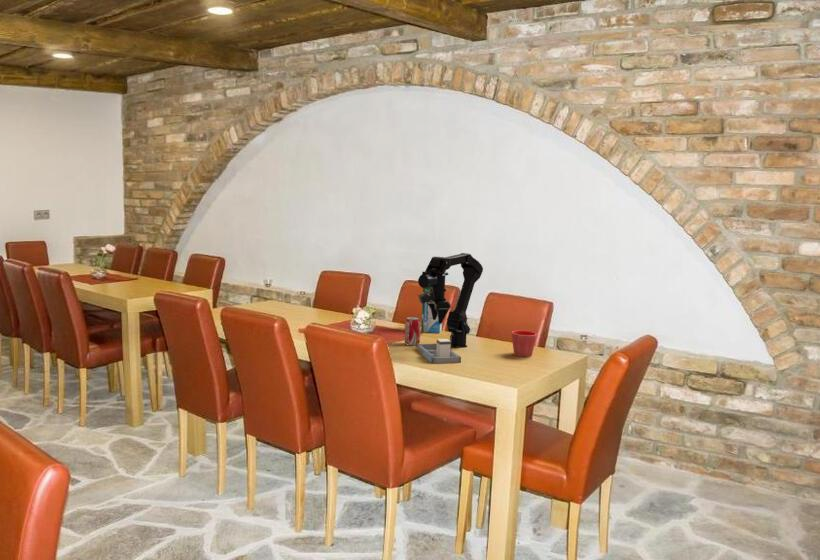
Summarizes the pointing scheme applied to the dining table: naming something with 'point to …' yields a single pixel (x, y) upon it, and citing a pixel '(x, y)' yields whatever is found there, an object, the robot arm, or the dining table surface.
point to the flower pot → (523, 342)
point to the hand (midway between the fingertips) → (437, 321)
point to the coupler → (443, 348)
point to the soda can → (412, 331)
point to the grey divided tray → (431, 353)
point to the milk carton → (429, 318)
